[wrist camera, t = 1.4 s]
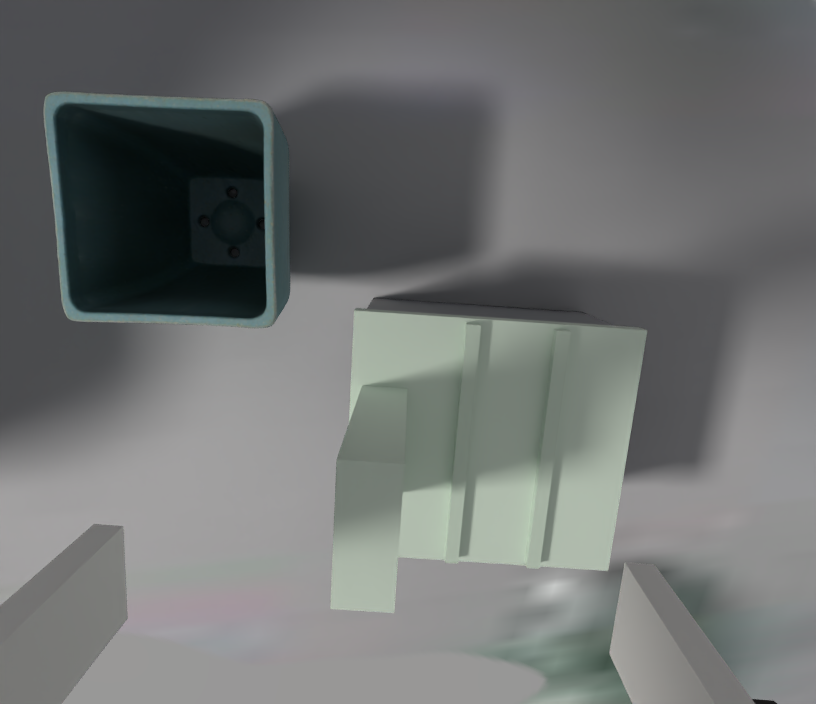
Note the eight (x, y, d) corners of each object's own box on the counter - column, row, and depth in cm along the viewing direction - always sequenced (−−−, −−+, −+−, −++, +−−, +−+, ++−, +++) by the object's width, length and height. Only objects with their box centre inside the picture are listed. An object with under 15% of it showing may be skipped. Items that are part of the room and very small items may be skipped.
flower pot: (315, 141, 29) (271, 98, 20) (315, 303, 30) (276, 330, 22) (153, 135, 29) (38, 89, 20) (163, 297, 30) (62, 322, 22)
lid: (347, 535, 27) (311, 696, 17) (358, 306, 24) (323, 348, 15) (596, 551, 27) (696, 721, 17) (632, 324, 24) (770, 378, 15)
